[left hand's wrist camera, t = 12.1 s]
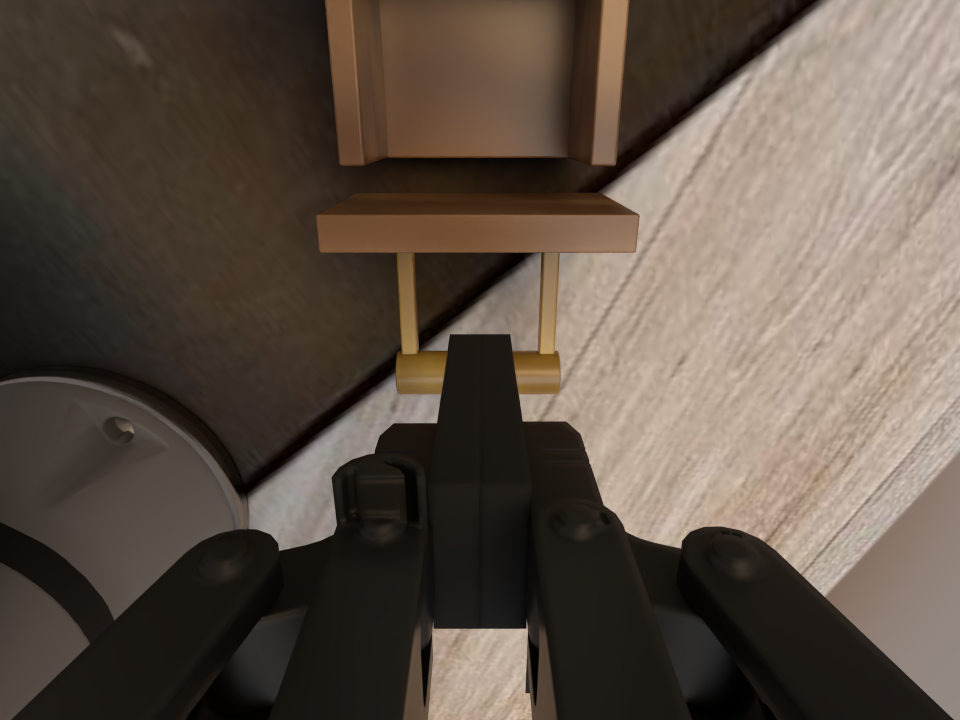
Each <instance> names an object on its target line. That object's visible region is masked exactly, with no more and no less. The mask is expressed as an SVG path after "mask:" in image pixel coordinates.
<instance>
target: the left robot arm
mask: <svg viewBox="0 0 960 720" xmlns="http://www.w3.org/2000/svg"><path fill="white" fill-rule="evenodd" d="M332 484H333V493H334V502H335V511H336V520H337V527H336V530H335V533H334V535H332V536H330V537H328V538H326V539H324V540H321V541H318V542H315V543H312V544H308V545H305V546H300V547H296V548H291V549H287V550H282V551H279V546H278V543H277V542H276V540H275V539H274V538H273V537H272V536H271V535H270V534H268V533H265V532H262V531H259V530H255V529H247V527H248V507H247V499H246V495H245V491H244V487H243V484H242V482H241V479H240V476H239V474H238V472H237V470H236V467H235V465H234V463H233V462H232V460H231V458H230V457H229V455H228V453H227V452H226V450H225V449H224V448H223V446H222V445H221V444H220V442H219V441H218V439H217V438H216V437H215V436H214V435H213V434H212V433H211V432H210V430H209V429H208V428H207V427H206V426H205V425H204V424H203V423H202V422H201V421H199V420H198V419H197V418H196V417H195V416H194V415H193V414H191V413H190V412H189V411H188V410H187V409H185V408H184V407H183V406H181V405H180V404H178V403H177V402H175V401H174V400H172V399H171V398H169V397H168V396H166V395H164V394H162V393H161V392H159V391H157V390H155V389H153V388H151V387H149V386H147V385H145V384H143V383H141V382H138V381H136V380H133V379H130V378H128V377H125V376H122V375H118V374H115V373H112V372H108V371H103V370H98V369H94V368H86V367H78V366H46V367H39V368H32V369H28V370H24V371H20V372H16V373H14V374H11V375H8V376H6V377H3V378H1V379H0V720H428V710H429V699H430V687H431V675H432V663H433V646H432V628H433V622H434V629H526V622H527V625H528V646H527V670H526V693H530V698H531V710H532V720H953V719H952V718H951V717H950V716H949V715H948V714H947V713H946V712H945V711H944V710H943V709H942V708H941V707H940V706H939V705H938V704H937V703H936V702H935V701H933V700H932V699H931V698H930V697H929V696H928V695H927V694H926V693H925V692H924V691H923V690H922V689H921V688H920V687H919V686H918V685H917V684H916V683H914V682H913V681H912V680H911V679H910V678H909V677H908V676H907V675H906V674H905V673H904V672H903V671H902V670H901V669H900V668H899V667H898V666H897V665H896V664H894V663H893V662H892V661H891V660H890V659H889V658H888V657H887V656H886V655H885V654H884V653H883V652H882V651H881V650H880V649H879V648H878V647H877V646H876V645H874V644H873V643H872V642H871V641H870V640H869V639H868V638H867V637H866V636H865V635H864V634H863V633H862V632H861V631H860V630H859V629H858V628H857V627H856V626H854V625H853V624H852V623H851V622H850V621H849V620H848V619H847V618H846V617H845V616H844V615H843V614H842V613H841V612H840V611H839V610H838V609H837V608H835V607H834V606H833V605H832V604H831V603H830V602H829V601H828V600H827V599H826V598H825V597H824V596H823V595H822V594H821V593H820V592H819V591H818V590H817V589H816V588H814V587H813V586H812V585H811V584H810V583H809V582H808V581H807V580H806V579H805V578H804V577H803V576H802V575H801V574H800V573H799V572H798V571H797V570H795V569H794V568H793V567H792V566H791V565H790V564H789V563H788V562H787V561H786V560H785V559H784V558H783V557H782V556H781V555H780V554H779V553H778V552H777V551H775V550H774V549H773V548H772V547H770V546H769V545H767V544H766V543H765V542H763V541H762V540H761V539H759V538H757V537H754V536H752V535H750V534H747V533H745V532H743V531H740V530H735V529H731V528H726V527H703V528H700V529H697V530H694V531H691V532H690V533H689V534H688V535H687V536H686V537H685V538H684V540H683V541H682V546H681V549H680V548H675V547H671V546H666V545H662V544H657V543H653V542H650V541H646V540H643V539H640V538H637V537H635V536H633V535H631V534H629V533H627V532H625V529H624V526H623V524H622V523H621V521H620V520H619V518H618V517H617V515H616V514H615V513H614V512H612V511H611V510H609V509H608V508H607V507H605V506H604V505H603V502H602V499H601V496H600V493H599V489H598V486H597V483H596V480H595V477H594V474H593V471H592V468H591V465H590V464H589V459H588V456H587V453H586V452H585V447H584V444H583V441H582V438H581V434H580V433H579V432H577V431H576V430H575V429H574V428H573V427H572V426H571V425H569V424H568V423H567V422H523V421H522V414H521V407H520V400H519V393H518V386H517V380H516V373H515V366H514V359H513V352H512V345H511V338H510V334H450V338H449V345H448V352H447V359H446V366H445V373H444V380H443V386H442V393H441V400H440V407H439V414H438V421H437V423H394V424H393V425H392V426H390V427H389V428H388V429H387V430H386V431H385V432H384V433H383V434H381V435H380V437H379V440H378V443H377V446H376V449H375V454H368V455H365V456H362V457H359V458H356V459H352V460H351V461H349V462H347V463H346V464H344V465H343V466H341V467H339V469H338V470H337V471H336V472H335V474H334V475H333V476H332Z"/></svg>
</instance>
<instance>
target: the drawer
mask: <svg viewBox="0 0 960 720" xmlns="http://www.w3.org/2000/svg"><path fill="white" fill-rule="evenodd" d="M325 8H326V19H327V30H328V42H329V53H330V65H331V76H332V87H333V99H334V110H335V122H336V133H337V144H338V156H339V164H340V165H341V166H365V165H368V164H371V163H373V162H376V161H379V160H382V159H385V158H571V159H574V160H577V161H579V162H582V163H585V164H588V165H591V166H614V165H615V164H616V156H617V144H618V132H619V120H620V108H621V96H622V84H623V72H624V60H625V48H626V36H627V24H628V12H629V0H325ZM316 224H317V233H318V243H319V251H320V252H321V253H396V256H397V274H398V292H399V310H400V328H401V346H402V351H399V352H398V354H397V359H396V386H397V391H398V394H441V393H442V386H443V380H444V373H445V366H446V359H447V352H448V351H418V349H419V347H418V324H417V301H416V278H415V256H414V253H542V255H541V281H540V306H539V331H538V351H512V352H513V359H514V366H515V373H516V380H517V386H518V393H519V394H558V392H559V389H560V357H559V353H558V351H555V331H556V312H557V292H558V273H559V253H634V252H636V245H637V235H638V226H639V214H637V213H635V212H633V211H631V210H630V209H628V208H626V207H624V206H622V205H621V204H619V203H617V202H615V201H613V200H612V199H610V198H608V197H606V196H604V195H603V194H601V193H356V194H354V195H352V196H350V197H348V198H347V199H345V200H343V201H341V202H339V203H337V204H335V205H334V206H332V207H330V208H328V209H326V210H324V211H322V212H321V213H319V214H317V215H316Z"/></svg>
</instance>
